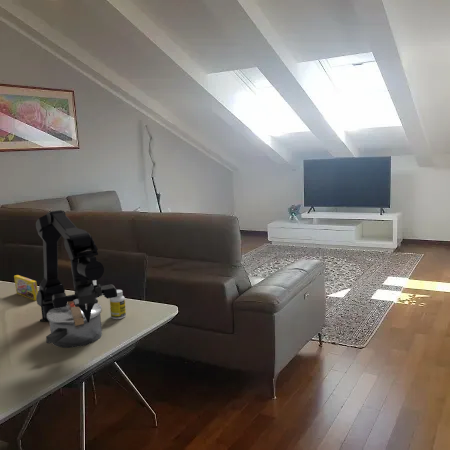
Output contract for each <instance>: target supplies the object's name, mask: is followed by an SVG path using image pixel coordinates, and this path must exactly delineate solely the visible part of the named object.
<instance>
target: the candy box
mask: <svg viewBox="0 0 450 450" xmlns="http://www.w3.org/2000/svg"><path fill="white" fill-rule="evenodd" d="M13 278H14V284H15V292H16V294H17V295H19V296H22V297H25V298H28V299H29V300H32V301H36V302H37V300H36V297H37V294H38V291H39V288H38V284H37V280H34V279H31V278H29V277H25V276H22V275H19V274H16V275H14V276H13Z"/></svg>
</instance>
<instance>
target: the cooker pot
mask: <svg viewBox="0 0 450 450" xmlns="http://www.w3.org/2000/svg"><path fill="white" fill-rule="evenodd" d="M101 316H102V315H101V313H100V314H99V315H98V316H96V317H94V318H92V319H90V320H89V322H87V320H86V321H84V324H81V325H75V324H74V323H69V324H59V323H53V322H49V327H50V328H49V329H50V333H49V334H47V335H46V336H45V337H46V338H45V339H46V343H47V344H52V345H53V346H55V347H58V348H64V349H65V348H66V349H69V348H70V349H71V348H80V347H85V346H89V345H90V344H93V343H96V342H97V341H98V340H99V339H101V337H102V336H103V330H102V329H103V328H102V318H101Z"/></svg>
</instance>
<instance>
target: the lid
mask: <svg viewBox="0 0 450 450" xmlns="http://www.w3.org/2000/svg"><path fill="white" fill-rule="evenodd" d="M85 306H86V304H85ZM102 312H103V307H102V305H101V304H100V303H95V304H94V306H93V308H92V311H91V316H90V319H92V318H94V317H96V316H98V315H99V314H100V315H101V313H102ZM47 319H48V320H49V321H50V322H53V323H59V324H69V323H74V324H75V325H81V324H84V321H86V318H85V316H84V314H83V312H82V310H81V309H80V308H79V307H75V305H74V302H73V301H70V302H67V305H66V306H65V307H60V308H53V309H51V310H50V311H49V312H48V313H47ZM50 322H49V323H50Z"/></svg>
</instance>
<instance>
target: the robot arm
mask: <svg viewBox="0 0 450 450" xmlns="http://www.w3.org/2000/svg"><path fill="white" fill-rule="evenodd" d="M35 228H36V232H37V234H38V236H39V237H40V238H41V240H42V248H43V249H42V250H43V252H42V253H43V278H42V280H41V282H40V283H39V287H38V294H37V297H36V304H37V305H38V306H39V307H40V310H41V318H40V319H39V321H40V322H46V323H50V321H49V320H48V319H47V313H48V312H49V311H50V310H51V309H53V308H60V307H65V306H66V305H67V304H68V302H70V301H73V302H74V305H75V307H79V308H80V309H81V310H82V312H83V314H84V316H85V318H86V320H87V322H89V320H90V316H91V311H92V308H93V306H94V304H95V303H98V302H99V300H98V299H97V297H98V298H100V297H103V296H104V298H106V299H110V298H114V297H117V290H118V289H117V288H116V287H115V285H114V284H111V283H110V284H106V285H102V284H100V283H99V284H97V285H94V284H93V280H96V281H98V280H100V279H101V278H102V277H103V275H104V272H105V271H104V270H105V267H104V265H103V264H102V262H100V261H99V260H98V259H97V256H98V255H99V252H98V250H99V249H98V247H97V245H96V243H95V241H94V239H93V237H92V235H91V234H90V232H88V231H86V230H85V229H84V228H78V227H77V226H76V225H75V224H74V223H73V222H72V221H71V219H70V218H69V217H68V216H67V215H66V212H65V210H62V209H60V210H52V211H49V212H46V214H45V215H43V216H41V217H39V218H37V220H36V222H35ZM61 237H62V238H63V239H64V240H63V244H64V245H63V246H64V248H65V250H66V253H67V254H68V258H69V259H70V266H71V275H72V282H73V290H74V294H69V295H67V294H66V290H65V287H64V285H63V283H62V282H61V280H60V279H59V258H58V256H59V255H58V254H59V253H58V252H59V251H58V243H59V240H60V239H61ZM85 304H86V306H85ZM98 304H99V303H98Z"/></svg>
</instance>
